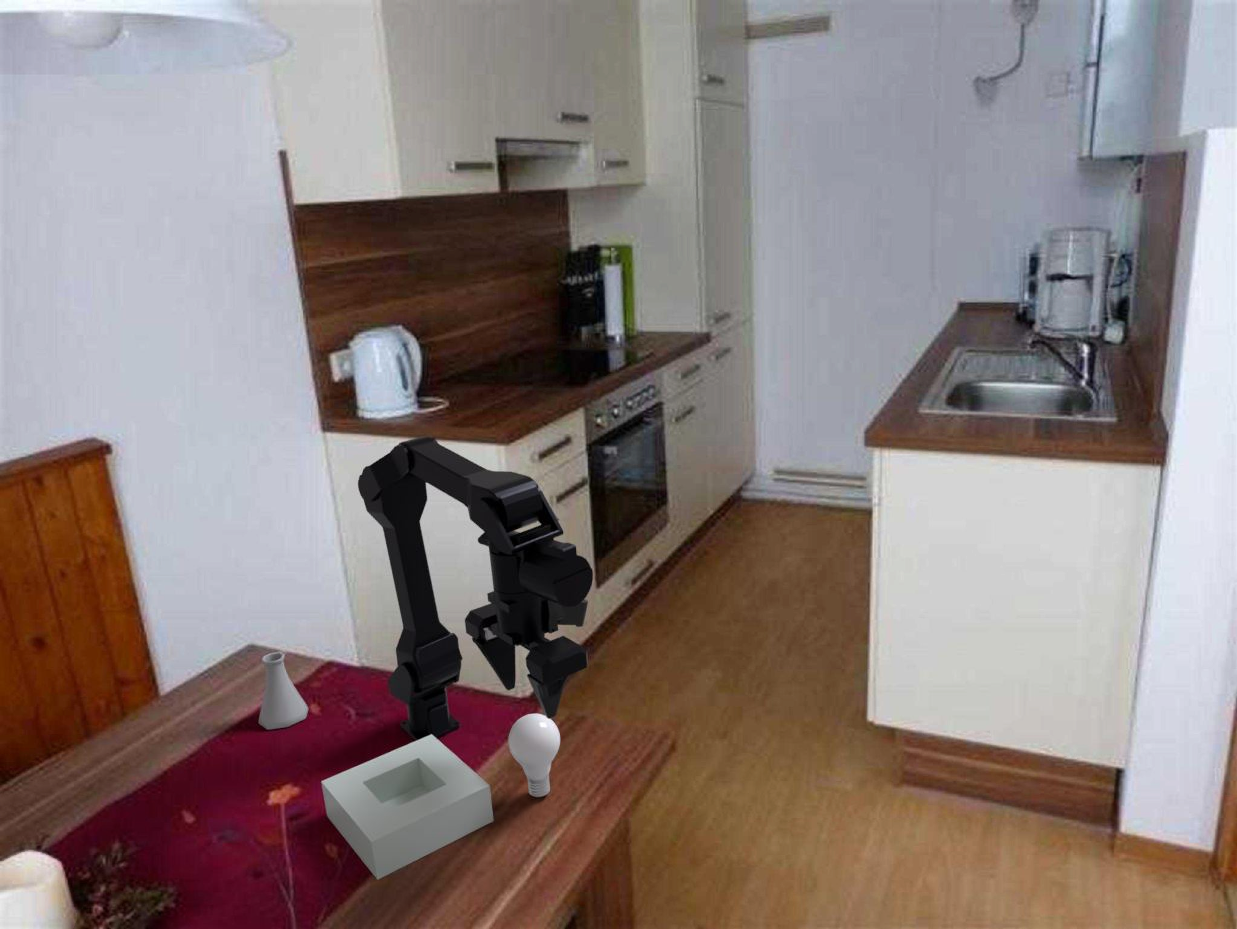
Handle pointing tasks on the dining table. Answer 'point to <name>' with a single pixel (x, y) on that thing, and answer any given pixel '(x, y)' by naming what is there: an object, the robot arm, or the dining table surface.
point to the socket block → (406, 804)
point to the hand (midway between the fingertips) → (530, 702)
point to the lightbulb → (535, 749)
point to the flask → (280, 696)
